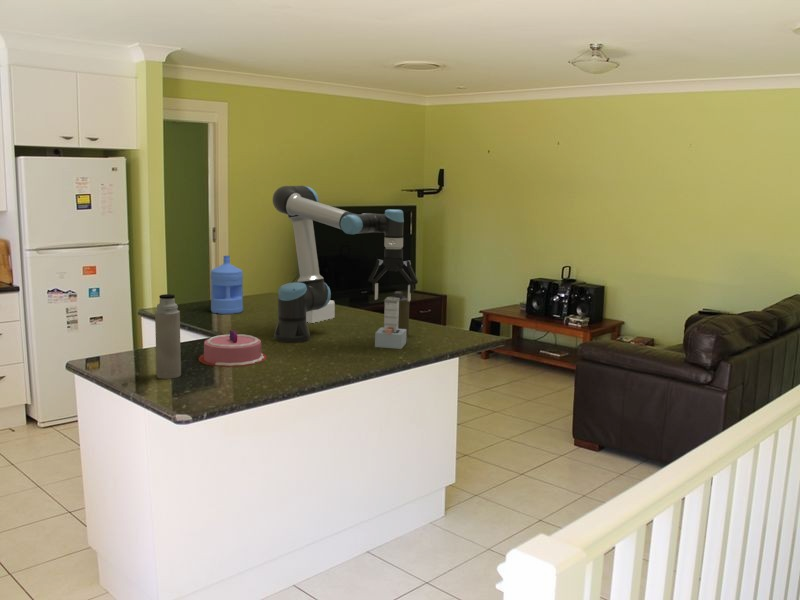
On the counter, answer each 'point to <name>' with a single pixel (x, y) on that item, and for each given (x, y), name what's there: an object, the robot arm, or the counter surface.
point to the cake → (232, 350)
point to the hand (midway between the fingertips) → (392, 300)
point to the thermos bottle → (167, 338)
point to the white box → (321, 313)
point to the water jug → (226, 288)
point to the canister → (403, 311)
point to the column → (391, 314)
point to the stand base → (390, 338)
